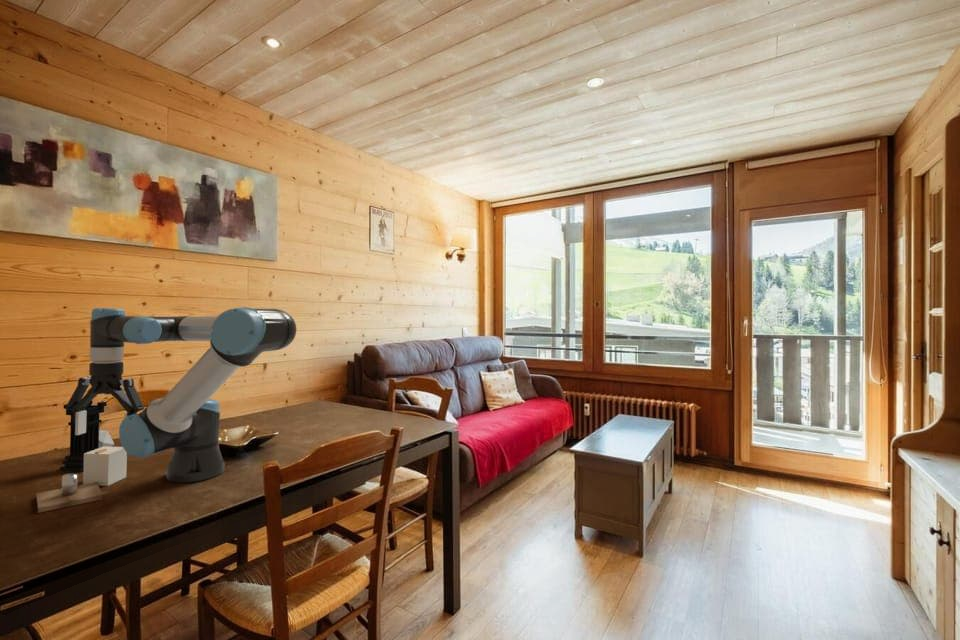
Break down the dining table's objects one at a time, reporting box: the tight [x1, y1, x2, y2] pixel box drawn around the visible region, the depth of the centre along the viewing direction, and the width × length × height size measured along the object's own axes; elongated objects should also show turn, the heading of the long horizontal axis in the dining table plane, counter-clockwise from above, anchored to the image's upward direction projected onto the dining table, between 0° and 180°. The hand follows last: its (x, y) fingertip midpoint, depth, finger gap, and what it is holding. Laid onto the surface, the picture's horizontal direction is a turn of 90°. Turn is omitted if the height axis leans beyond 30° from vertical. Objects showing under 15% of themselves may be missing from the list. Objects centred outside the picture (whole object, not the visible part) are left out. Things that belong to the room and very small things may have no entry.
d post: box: [61, 472, 79, 496], centre depth 116 cm, size 3×3×5 cm
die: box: [99, 429, 115, 448], centre depth 150 cm, size 8×9×10 cm
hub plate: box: [35, 482, 103, 514], centre depth 116 cm, size 12×12×1 cm
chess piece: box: [59, 400, 108, 473], centre depth 139 cm, size 8×8×20 cm
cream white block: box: [82, 446, 128, 487], centre depth 128 cm, size 7×7×10 cm
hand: (104, 434), depth 128 cm, fingers open, 13 cm apart
